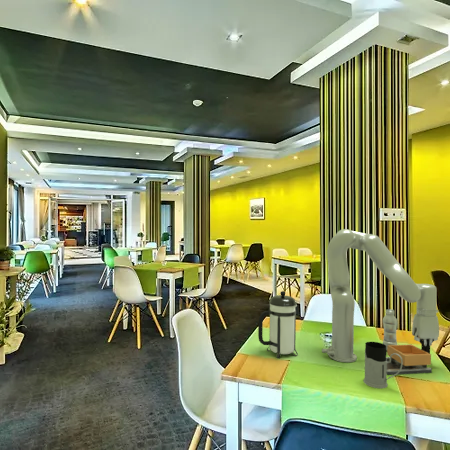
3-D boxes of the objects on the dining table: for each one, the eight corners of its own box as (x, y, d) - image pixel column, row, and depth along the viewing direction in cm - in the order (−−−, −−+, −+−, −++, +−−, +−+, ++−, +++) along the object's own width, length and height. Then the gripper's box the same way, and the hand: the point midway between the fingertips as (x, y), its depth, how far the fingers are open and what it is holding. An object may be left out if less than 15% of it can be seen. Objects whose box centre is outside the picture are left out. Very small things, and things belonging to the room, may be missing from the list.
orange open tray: (404, 369, 139) (404, 355, 139) (387, 358, 151) (387, 345, 151) (430, 368, 141) (431, 354, 141) (411, 357, 153) (411, 344, 153)
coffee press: (271, 345, 171) (272, 286, 171) (301, 351, 163) (302, 290, 163) (257, 356, 156) (258, 292, 156) (290, 364, 148) (291, 296, 148)
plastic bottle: (399, 353, 162) (399, 312, 162) (384, 352, 163) (384, 311, 163) (395, 348, 168) (395, 308, 168) (380, 347, 169) (381, 308, 169)
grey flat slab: (387, 374, 138) (387, 370, 138) (370, 362, 151) (370, 358, 151) (431, 372, 140) (431, 368, 140) (410, 360, 153) (410, 356, 153)
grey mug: (369, 375, 137) (369, 339, 137) (406, 388, 126) (406, 349, 127) (359, 382, 131) (359, 344, 131) (397, 396, 121) (398, 355, 121)
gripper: (435, 309, 152) (434, 349, 152) (405, 310, 150) (404, 351, 150) (448, 314, 144) (447, 356, 144) (416, 314, 143) (416, 357, 143)
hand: (425, 353), depth 147 cm, fingers closed
